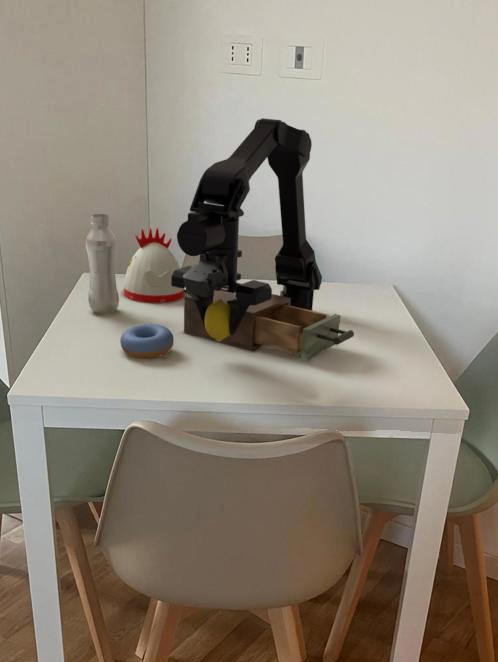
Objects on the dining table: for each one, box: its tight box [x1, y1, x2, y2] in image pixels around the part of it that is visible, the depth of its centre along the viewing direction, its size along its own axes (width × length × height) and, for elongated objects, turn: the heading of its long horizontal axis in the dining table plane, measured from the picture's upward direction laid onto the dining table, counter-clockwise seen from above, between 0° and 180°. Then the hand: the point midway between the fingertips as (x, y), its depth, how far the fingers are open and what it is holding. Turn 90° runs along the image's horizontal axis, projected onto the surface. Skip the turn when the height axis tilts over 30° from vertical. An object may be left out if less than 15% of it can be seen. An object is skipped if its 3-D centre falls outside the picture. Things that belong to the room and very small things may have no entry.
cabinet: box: [183, 286, 291, 352], centre depth 162 cm, size 17×14×8 cm
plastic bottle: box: [85, 213, 120, 314], centre depth 168 cm, size 6×7×20 cm
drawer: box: [254, 304, 355, 361], centre depth 155 cm, size 20×12×6 cm, turn 56°
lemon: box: [205, 299, 230, 343], centre depth 148 cm, size 6×6×8 cm
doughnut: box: [119, 323, 175, 359], centre depth 151 cm, size 10×10×5 cm
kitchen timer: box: [123, 227, 186, 304], centre depth 183 cm, size 14×14×15 cm
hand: (219, 331), depth 148 cm, fingers closed on lemon, 5 cm apart
